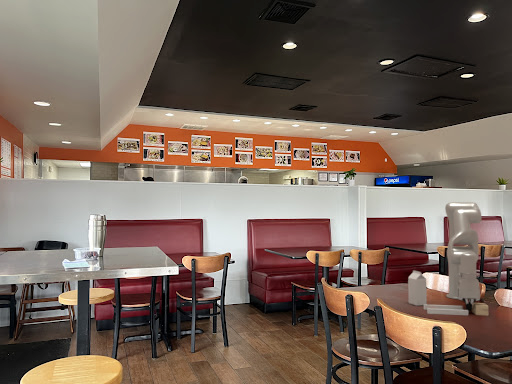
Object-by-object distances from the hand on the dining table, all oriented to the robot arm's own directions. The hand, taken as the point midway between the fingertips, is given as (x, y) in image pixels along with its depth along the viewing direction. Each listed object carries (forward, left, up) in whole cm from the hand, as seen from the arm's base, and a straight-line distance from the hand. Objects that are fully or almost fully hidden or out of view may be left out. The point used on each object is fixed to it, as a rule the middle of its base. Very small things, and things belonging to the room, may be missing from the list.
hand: (468, 310), depth 220 cm
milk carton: (-16, -23, -1) cm, 28 cm away
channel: (0, -12, -1) cm, 12 cm away
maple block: (0, +6, -1) cm, 6 cm away
